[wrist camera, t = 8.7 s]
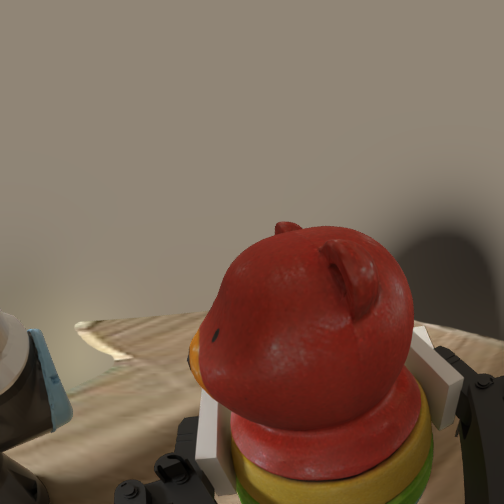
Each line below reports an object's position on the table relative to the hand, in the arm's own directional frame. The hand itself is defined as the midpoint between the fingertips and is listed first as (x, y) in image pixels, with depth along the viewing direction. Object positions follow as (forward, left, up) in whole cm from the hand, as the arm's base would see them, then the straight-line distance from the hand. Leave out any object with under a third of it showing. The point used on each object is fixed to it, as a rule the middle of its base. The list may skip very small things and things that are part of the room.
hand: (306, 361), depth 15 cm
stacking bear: (+1, -4, -10) cm, 11 cm away
